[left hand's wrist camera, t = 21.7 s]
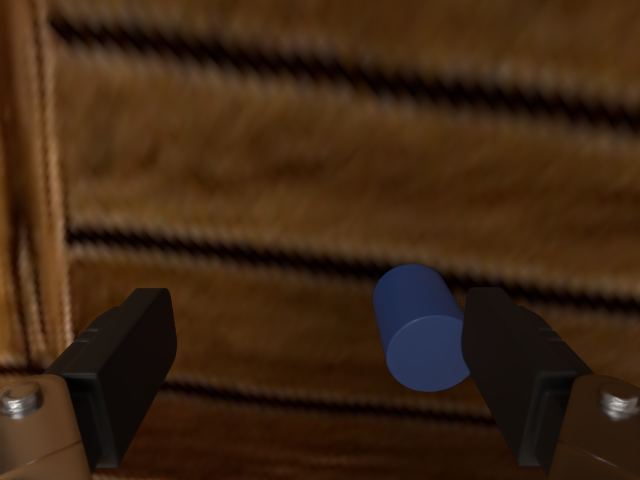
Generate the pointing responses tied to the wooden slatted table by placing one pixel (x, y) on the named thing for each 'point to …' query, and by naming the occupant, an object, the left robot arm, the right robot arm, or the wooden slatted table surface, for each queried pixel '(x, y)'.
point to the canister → (420, 328)
